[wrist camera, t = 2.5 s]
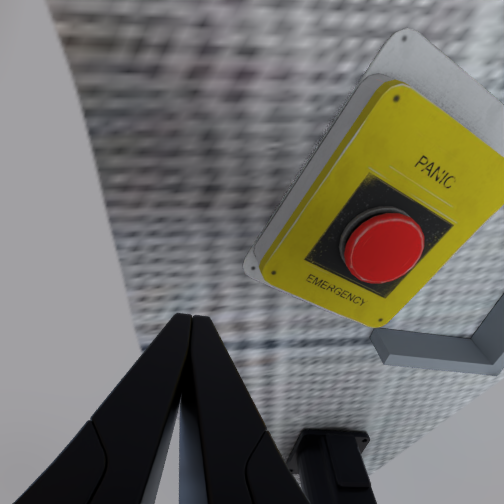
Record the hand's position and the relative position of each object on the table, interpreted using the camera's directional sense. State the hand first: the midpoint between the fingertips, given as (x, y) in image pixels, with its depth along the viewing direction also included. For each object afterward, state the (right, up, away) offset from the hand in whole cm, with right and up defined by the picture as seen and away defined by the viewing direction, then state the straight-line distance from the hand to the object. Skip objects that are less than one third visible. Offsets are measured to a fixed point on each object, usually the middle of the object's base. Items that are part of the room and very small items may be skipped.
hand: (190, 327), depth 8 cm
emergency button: (+8, +5, +11) cm, 15 cm away
